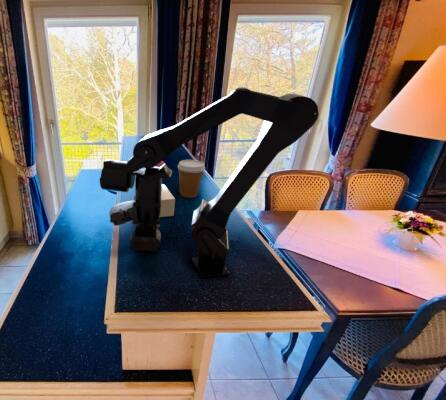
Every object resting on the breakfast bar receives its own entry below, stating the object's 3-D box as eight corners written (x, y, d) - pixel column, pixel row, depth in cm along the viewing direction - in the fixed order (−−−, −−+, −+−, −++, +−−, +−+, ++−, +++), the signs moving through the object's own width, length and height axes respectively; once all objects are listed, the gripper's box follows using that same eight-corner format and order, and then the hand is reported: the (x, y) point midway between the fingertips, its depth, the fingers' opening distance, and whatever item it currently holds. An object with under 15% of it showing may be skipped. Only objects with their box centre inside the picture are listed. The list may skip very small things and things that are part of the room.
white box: (173, 215, 83) (175, 192, 80) (143, 218, 82) (144, 195, 78) (162, 198, 95) (163, 177, 92) (135, 200, 94) (135, 179, 90)
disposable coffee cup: (202, 200, 93) (206, 168, 88) (174, 198, 95) (177, 166, 90) (201, 190, 101) (204, 160, 96) (175, 188, 103) (178, 158, 98)
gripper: (117, 177, 67) (118, 230, 74) (103, 211, 50) (106, 276, 57) (162, 179, 66) (158, 233, 72) (162, 214, 49) (158, 280, 56)
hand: (145, 252), depth 64 cm, fingers closed
